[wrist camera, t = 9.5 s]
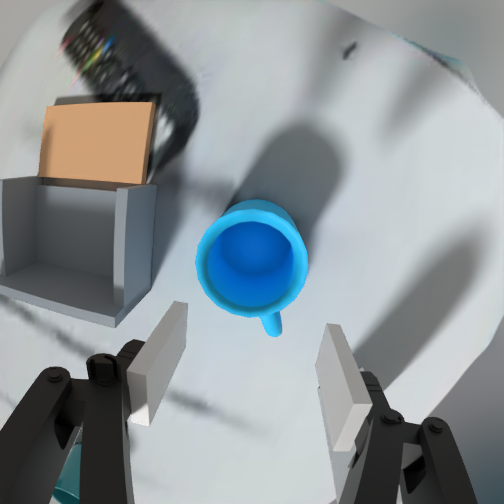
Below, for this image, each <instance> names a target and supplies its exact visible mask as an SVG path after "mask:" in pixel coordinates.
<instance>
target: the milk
mask: <svg viewBox="0 0 504 504" xmlns="http://www.w3.org/2000/svg"><path fill="white" fill-rule="evenodd" d="M359 371H365V370H364V368H363V367H361V368H359ZM318 395H319V400H320V406H321V411H322V416H323V422H324V427H325V433H326V438H327V444H328V449H329V455H330V461H331V467H332V473H333V479H334V485H335V491H336V497H337V503H338V504H339V501H340V498H341V495H342V491H343V488H344V485H345V482H346V479H347V475H348V472H349V469H350V468H347V466H348V465H349V463H350V461H351V459H352V457H353V456H354V454H355V452H356V446H355V442H354V444H353V446H352V448H351V450H350V451H332V446H331V441H330V436H329V430H328V425H327V420H326V415H325V410H324V405H323V400H322V395H321V390H320V388H318ZM396 504H402V498H401V491H400V485H399V489H398V496H397V502H396Z"/></svg>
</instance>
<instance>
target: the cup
mask: <svg viewBox="0 0 504 504" xmlns="http://www.w3.org/2000/svg"><path fill="white" fill-rule="evenodd" d="M80 458H81V444H76V445H75V446H73V448H72V449H71V451H70V452H69V454H68V457H67V459H66V462H65V464H64V466H63V469H62V471H61V474H60V476H59V479H58V481H57V484H56V487H55V489H54V492H53V494H52V496H53V497H54V499H56V500H57V501H58V502H59V503H60V504H79V480H80Z"/></svg>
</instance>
